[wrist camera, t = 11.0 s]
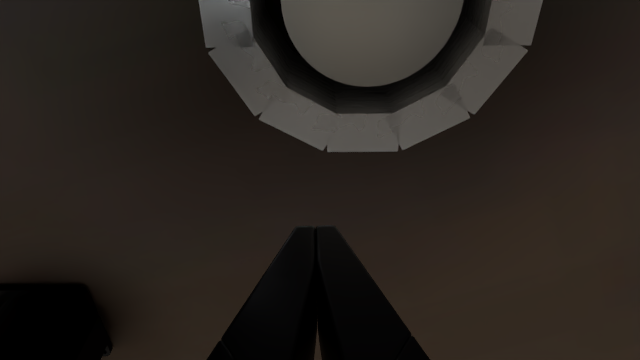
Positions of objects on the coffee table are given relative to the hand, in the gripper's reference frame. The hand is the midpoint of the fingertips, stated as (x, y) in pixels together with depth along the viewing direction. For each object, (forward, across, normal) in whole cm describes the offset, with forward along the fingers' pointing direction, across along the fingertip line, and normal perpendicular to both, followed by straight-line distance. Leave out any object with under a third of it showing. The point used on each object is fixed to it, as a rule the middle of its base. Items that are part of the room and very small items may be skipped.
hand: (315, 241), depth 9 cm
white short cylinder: (+12, -2, -3) cm, 12 cm away
